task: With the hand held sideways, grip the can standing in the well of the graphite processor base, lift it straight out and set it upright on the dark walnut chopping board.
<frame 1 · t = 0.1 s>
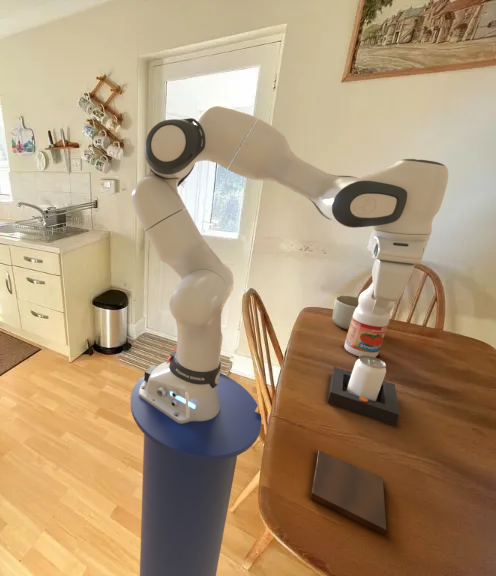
hand: (376, 305, 69), 31 cm above the table, tool pointing down, fingers open, 8 cm apart
processor base: (359, 398, 86), on the table
can: (359, 398, 86), resting in processor base
fruit juice: (359, 351, 108), on the table
planter: (347, 327, 124), on the table
board: (346, 490, 62), on the table
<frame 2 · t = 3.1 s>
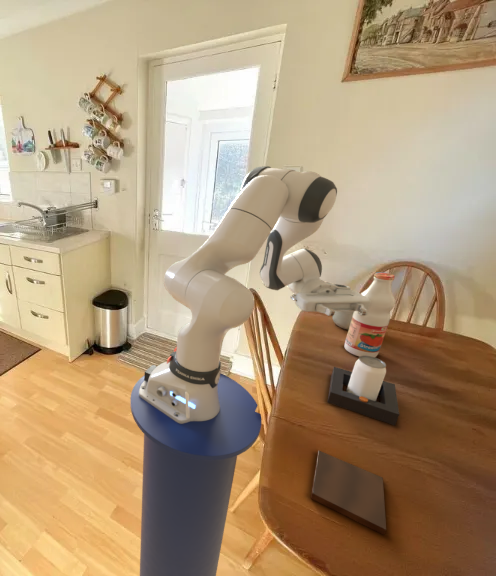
hand: (348, 313, 90), 20 cm above the table, tool horizontal, fingers open, 8 cm apart
nothing on the table moved.
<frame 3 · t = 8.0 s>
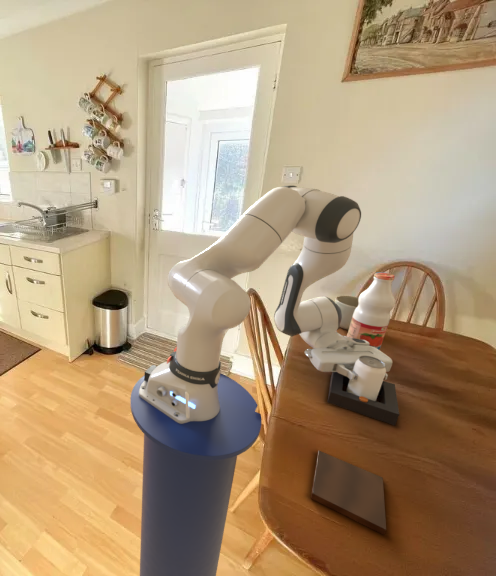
hand: (370, 377, 82), 8 cm above the table, tool horizontal, fingers closed on can, 6 cm apart
can: (359, 398, 86), resting in processor base, touching gripper
everything else where it was.
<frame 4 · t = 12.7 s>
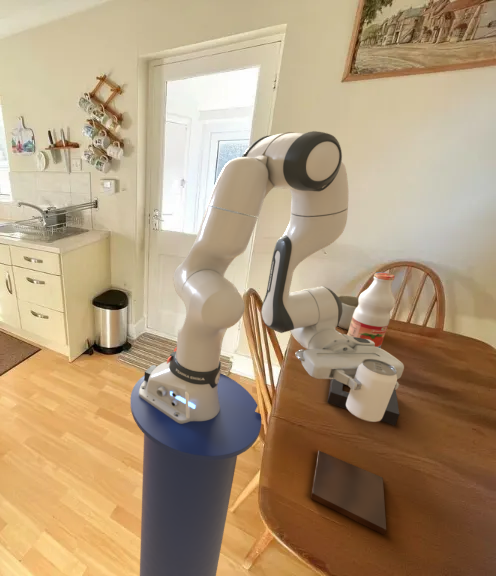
hand: (376, 387, 65), 17 cm above the table, tool horizontal, fingers closed on can, 6 cm apart
can: (362, 412, 69), point 9 cm above the table, touching gripper
everything else where it was.
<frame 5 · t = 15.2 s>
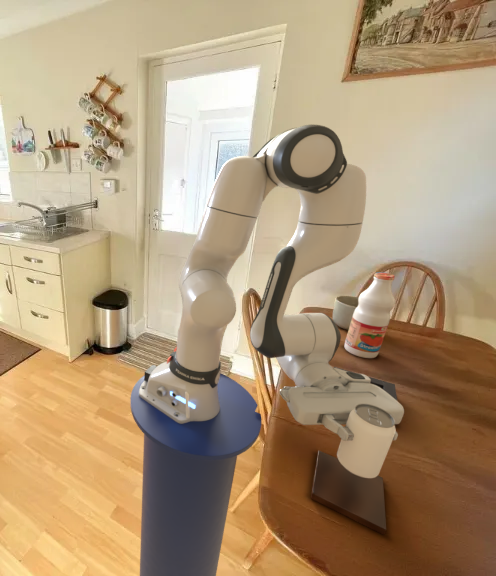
hand: (371, 438, 56), 15 cm above the table, tool horizontal, fingers closed on can, 6 cm apart
can: (356, 464, 59), point 7 cm above the table, touching gripper
everything else where it was.
when the fingers open (9 cm above the table, at t = 17.4 s): can stays where it is, resting on board.
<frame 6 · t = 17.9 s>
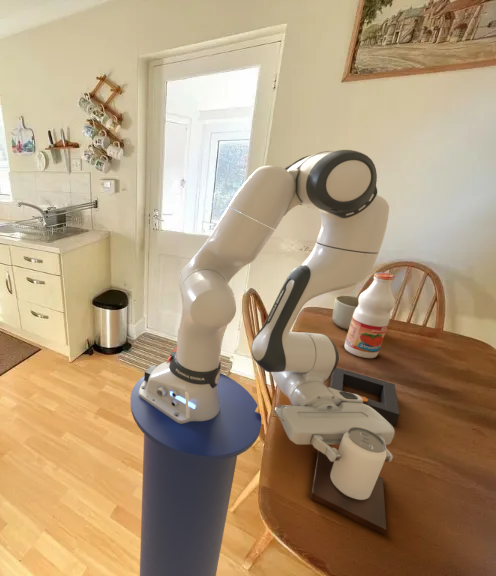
hand: (362, 459, 57), 9 cm above the table, tool horizontal, fingers open, 8 cm apart
can: (348, 485, 61), point 1 cm above the table, touching board
everything else where it was.
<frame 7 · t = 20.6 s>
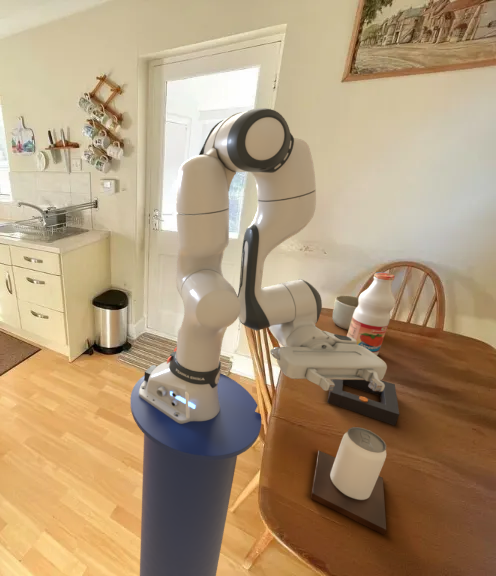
hand: (355, 388, 59), 21 cm above the table, tool horizontal, fingers open, 8 cm apart
nothing on the table moved.
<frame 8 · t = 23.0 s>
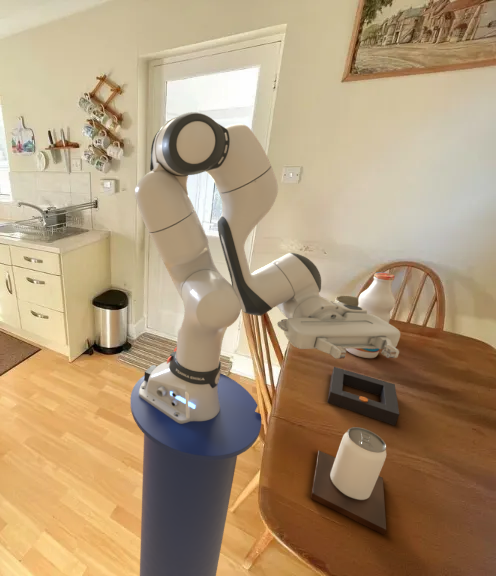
hand: (367, 355, 56), 28 cm above the table, tool horizontal, fingers open, 8 cm apart
nothing on the table moved.
at the end: can inside the target area on the board (0.1 cm from its centre), point 1.3 cm above the board's base; can tilted 0°; the gripper is holding nothing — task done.
